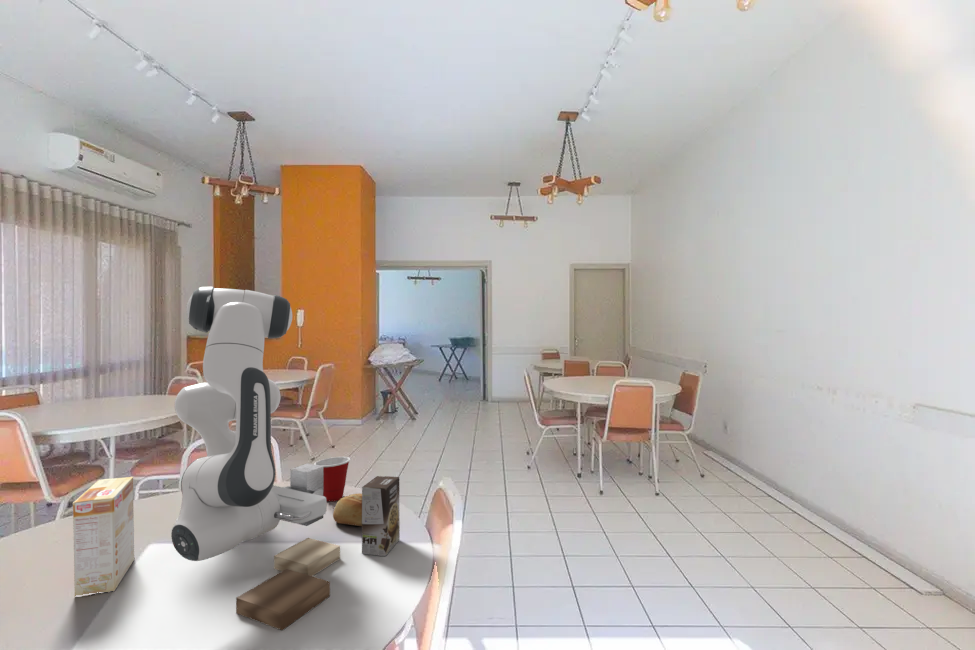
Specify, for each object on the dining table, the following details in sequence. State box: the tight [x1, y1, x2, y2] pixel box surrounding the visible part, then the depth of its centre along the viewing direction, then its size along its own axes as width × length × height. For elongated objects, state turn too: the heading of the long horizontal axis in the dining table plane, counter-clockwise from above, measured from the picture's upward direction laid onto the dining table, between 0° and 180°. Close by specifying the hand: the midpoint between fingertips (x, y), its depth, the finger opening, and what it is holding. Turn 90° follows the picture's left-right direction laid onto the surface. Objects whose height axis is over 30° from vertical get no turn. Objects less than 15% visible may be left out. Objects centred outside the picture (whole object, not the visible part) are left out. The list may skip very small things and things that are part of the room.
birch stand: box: [273, 537, 341, 577], centre depth 113 cm, size 10×10×3 cm
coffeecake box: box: [71, 476, 135, 597], centre depth 107 cm, size 15×7×20 cm, turn 22°
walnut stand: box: [235, 569, 331, 631], centre depth 97 cm, size 12×12×3 cm
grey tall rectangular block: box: [289, 462, 324, 527], centre depth 113 cm, size 5×5×12 cm
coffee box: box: [361, 475, 401, 557], centre depth 121 cm, size 9×6×16 cm
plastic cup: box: [313, 456, 351, 503], centre depth 154 cm, size 11×11×12 cm
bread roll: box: [332, 492, 362, 527], centre depth 135 cm, size 10×15×8 cm, turn 73°
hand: (310, 490), depth 114 cm, fingers closed on grey tall rectangular block, 5 cm apart
